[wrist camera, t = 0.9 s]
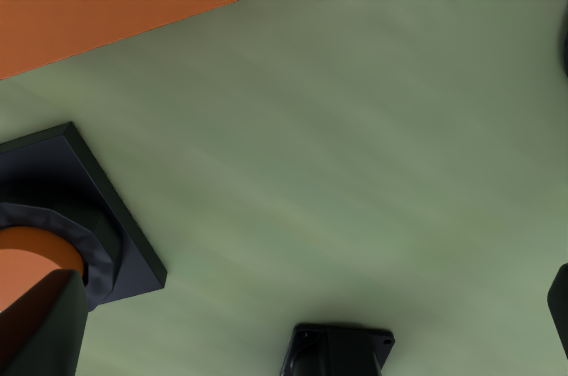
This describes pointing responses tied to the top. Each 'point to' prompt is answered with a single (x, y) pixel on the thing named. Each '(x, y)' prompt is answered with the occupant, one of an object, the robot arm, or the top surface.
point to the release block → (77, 212)
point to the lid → (79, 26)
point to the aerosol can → (566, 54)
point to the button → (31, 259)
